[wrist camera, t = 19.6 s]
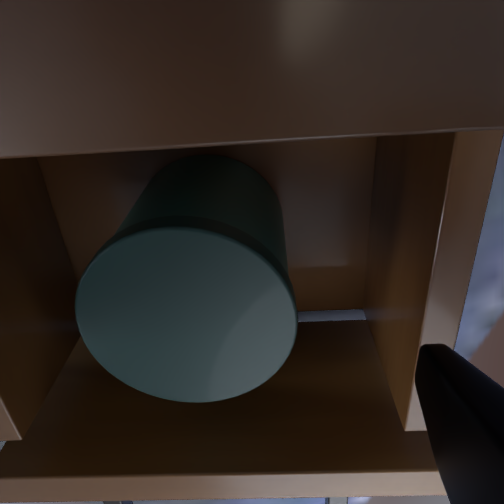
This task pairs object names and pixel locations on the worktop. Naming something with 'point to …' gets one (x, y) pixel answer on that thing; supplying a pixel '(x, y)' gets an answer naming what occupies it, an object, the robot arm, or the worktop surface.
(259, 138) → the cabinet
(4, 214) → the drawer
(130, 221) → the tea tin
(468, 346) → the worktop surface
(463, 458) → the robot arm
